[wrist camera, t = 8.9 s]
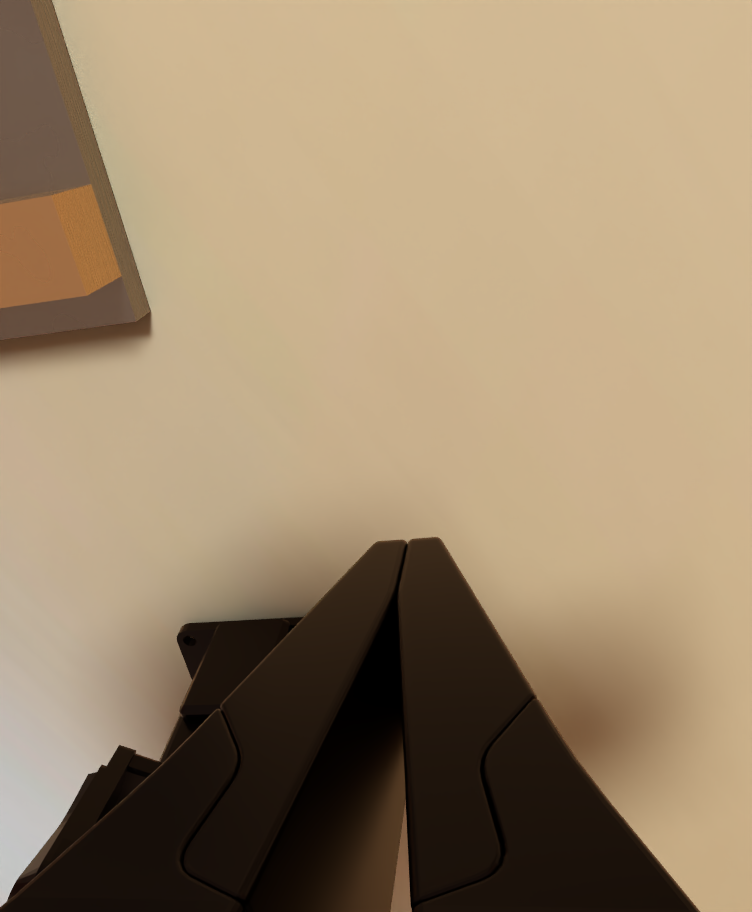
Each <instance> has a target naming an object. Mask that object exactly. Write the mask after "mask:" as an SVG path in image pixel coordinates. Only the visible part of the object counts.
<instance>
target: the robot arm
mask: <svg viewBox="0 0 752 912" xmlns="http://www.w3.org/2000/svg"><path fill="white" fill-rule="evenodd" d="M189 636H192V637H194V638H195V639H194V638H191V637H189ZM177 642H178V645H179V647H180V650H181V652H182V655H183V658H184V660H185V663H186V665H187V668H188V670H189V673H190V676H191V678H192V683H191V685H190V687H189V689H188V691H187V694H186V696H185V698H184V700H183V702H182V705H181V707H180V713H181V714H180V716H179V718H178V720H177V723H176V725H175V727H174V729H173V732H172V734H171V736H170V738H169V740H168V743H167V745H166V747H165V749H164V752H163V754H162V756H161V758H160V761H156V760H153V759H150V758H147V757H144V756H141V755H138V754H136V750H133V749H130V748H127V747H124V746H121V745H119V747H118V748H117V750H116V752H115V753H114V755H113V757H112V758H111V760H110V762H109V763H108V765H107V766H104V765H101V767H100V768H99V770H98V772H96V773H92V774H88V776H87V778H86V779H85V781H84V783H83V785H82V787H81V789H80V791H79V792H78V794H77V796H76V798H75V800H74V802H73V804H72V805H71V807H70V809H69V811H68V812H67V814H66V816H65V818H64V819H63V821H62V822H61V824H60V825H59V827H58V828H57V830H56V831H55V832H54V833H53V835H52V836H51V837H50V839H49V840H48V841H47V842H46V844H45V845H44V846H43V847H42V849H41V850H40V851H39V853H38V854H37V855H36V856H35V858H34V859H33V860H32V861H31V863H30V864H29V865H28V866H27V868H26V869H25V870H24V872H23V873H22V874H21V875H20V877H19V878H18V879H17V881H16V883H15V885H14V886H13V888H12V890H11V893H10V895H9V897H8V900H7V902H6V903H5V904H4V905H2V906H1V907H0V912H390V910H391V902H392V895H393V887H394V880H395V873H396V865H397V858H398V851H399V843H400V836H401V829H402V821H403V814H404V806H405V799H406V815H407V836H408V857H409V877H410V898H411V908H412V912H700V911H699V910H698V908H697V907H696V906H695V905H694V904H693V902H692V901H691V900H690V899H689V897H688V896H687V895H686V894H685V893H684V891H683V890H682V889H681V888H680V887H679V885H678V884H677V883H676V882H675V880H674V879H673V878H672V877H671V876H670V874H669V873H668V872H667V871H666V869H665V868H664V867H663V866H662V865H661V863H660V862H659V861H658V860H657V859H656V857H655V856H654V855H653V854H652V852H651V851H650V850H649V849H648V848H647V846H646V845H645V844H644V843H643V842H642V840H641V839H640V838H639V837H638V835H637V834H636V833H635V832H634V831H633V829H632V828H631V827H630V826H629V825H628V823H627V822H626V821H625V820H624V818H623V817H622V816H621V815H620V814H619V812H618V811H617V810H616V809H615V807H614V806H613V805H612V804H611V803H610V801H609V800H608V799H607V797H606V796H605V795H604V794H603V792H602V791H601V790H600V788H599V787H598V786H597V784H596V783H595V782H594V781H593V779H592V778H591V777H590V775H589V774H588V773H587V772H586V770H585V769H584V768H583V766H582V765H581V764H580V762H579V761H578V760H577V758H576V757H575V755H574V754H573V752H572V751H571V749H570V748H569V746H568V745H567V743H566V742H565V740H564V739H563V737H562V736H561V734H560V733H559V731H558V730H557V728H556V727H555V725H554V723H553V722H552V720H551V719H550V717H549V715H548V714H547V712H546V710H545V709H544V707H543V705H542V704H541V702H540V701H539V700H537V697H536V695H535V693H534V691H533V690H532V688H531V686H530V685H529V683H528V681H527V680H526V678H525V676H524V675H523V673H522V672H521V670H520V668H519V667H518V665H517V663H516V662H515V660H514V658H513V657H512V655H511V653H510V652H509V650H508V649H507V647H506V645H505V644H504V642H503V640H502V639H501V637H500V635H499V634H498V632H497V630H496V629H495V627H494V626H493V624H492V622H491V621H490V619H489V617H488V616H487V614H486V612H485V611H484V609H483V607H482V606H481V604H480V603H479V601H478V599H477V598H476V596H475V594H474V593H473V591H472V589H471V588H470V586H469V584H468V583H467V581H466V579H465V578H464V576H463V575H462V573H461V571H460V570H459V568H458V566H457V565H456V563H455V561H454V560H453V558H452V556H451V555H450V553H449V552H448V550H447V548H446V547H445V545H444V543H443V542H442V540H441V539H440V538H438V537H432V538H419V539H412V540H410V541H409V542H408V543H407V542H406V541H405V540H391V541H379V542H376V543H375V544H373V545H372V546H371V547H370V548H369V549H368V550H367V552H366V553H365V554H364V555H363V556H362V557H361V558H360V559H359V560H358V561H357V562H356V563H355V564H354V565H353V566H352V567H351V568H350V569H349V570H348V571H347V573H346V574H345V575H344V576H343V577H342V578H341V579H340V580H339V581H338V582H337V583H336V584H335V585H334V586H333V587H332V588H331V589H330V590H329V591H328V592H327V594H326V595H325V596H324V597H323V598H322V599H321V600H320V601H319V602H318V603H317V604H316V605H315V606H314V607H313V608H312V609H311V610H310V611H309V612H308V613H307V614H306V616H305V617H298V618H280V619H261V620H243V621H224V622H206V623H189V624H185V625H184V626H182V628H181V630H180V632H179V634H178V636H177Z"/></svg>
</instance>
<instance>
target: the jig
mask: <svg viewBox="0 0 752 912" xmlns="http://www.w3.org/2000/svg"><path fill="white" fill-rule="evenodd" d="M149 312H150V309H149V305H148V302H147V299H146V296H145V293H144V290H143V287H142V283H141V280H140V277H139V274H138V271H137V268H136V265H135V261H134V258H133V255H132V252H131V249H130V246H129V243H128V240H127V236H126V233H125V230H124V227H123V224H122V221H121V218H120V214H119V211H118V208H117V205H116V202H115V199H114V196H113V192H112V189H111V186H110V183H109V180H108V177H107V174H106V171H105V167H104V164H103V161H102V158H101V155H100V152H99V149H98V145H97V142H96V139H95V136H94V133H93V130H92V127H91V123H90V120H89V117H88V114H87V111H86V108H85V105H84V101H83V98H82V95H81V92H80V89H79V86H78V83H77V80H76V76H75V73H74V70H73V67H72V64H71V61H70V58H69V54H68V51H67V48H66V45H65V42H64V39H63V36H62V32H61V29H60V26H59V23H58V20H57V17H56V14H55V11H54V7H53V4H52V1H51V0H0V340H5V339H12V338H20V337H27V336H34V335H42V334H49V333H56V332H64V331H71V330H78V329H86V328H93V327H100V326H108V325H115V324H122V323H130V322H137V321H138V320H139V319H141V318H142V317H143V316H145V315H146V314H148V313H149Z"/></svg>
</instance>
